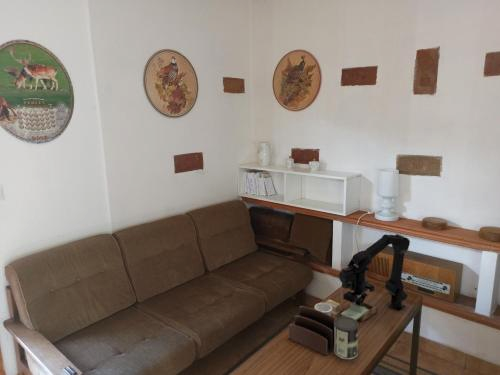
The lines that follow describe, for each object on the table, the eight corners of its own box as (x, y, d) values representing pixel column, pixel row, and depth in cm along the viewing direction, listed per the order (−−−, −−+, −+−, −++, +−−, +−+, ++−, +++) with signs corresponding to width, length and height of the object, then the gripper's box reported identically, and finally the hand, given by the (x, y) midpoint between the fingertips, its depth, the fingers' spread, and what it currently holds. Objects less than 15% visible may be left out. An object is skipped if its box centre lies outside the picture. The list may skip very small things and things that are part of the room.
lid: (355, 305, 186) (356, 298, 186) (368, 311, 181) (368, 304, 180) (341, 314, 179) (341, 307, 178) (354, 321, 173) (354, 313, 172)
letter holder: (300, 329, 174) (300, 302, 171) (337, 345, 161) (338, 317, 158) (288, 339, 167) (288, 311, 164) (326, 356, 154) (327, 327, 151)
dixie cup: (314, 320, 181) (314, 302, 178) (331, 320, 179) (331, 302, 177) (314, 329, 172) (314, 311, 170) (332, 331, 171) (332, 312, 169)
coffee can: (356, 345, 160) (357, 317, 157) (358, 360, 151) (359, 331, 148) (333, 343, 162) (333, 315, 159) (333, 358, 153) (334, 329, 150)
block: (329, 307, 192) (329, 299, 191) (340, 312, 187) (340, 304, 186) (324, 309, 189) (324, 302, 188) (335, 315, 184) (335, 307, 183)
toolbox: (361, 306, 192) (361, 298, 191) (377, 313, 185) (377, 305, 184) (348, 314, 184) (348, 307, 184) (363, 322, 177) (364, 314, 177)
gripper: (356, 268, 190) (355, 295, 193) (334, 279, 178) (333, 307, 182) (375, 275, 181) (374, 303, 184) (353, 287, 170) (352, 316, 173)
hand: (358, 307), depth 181 cm, fingers closed
